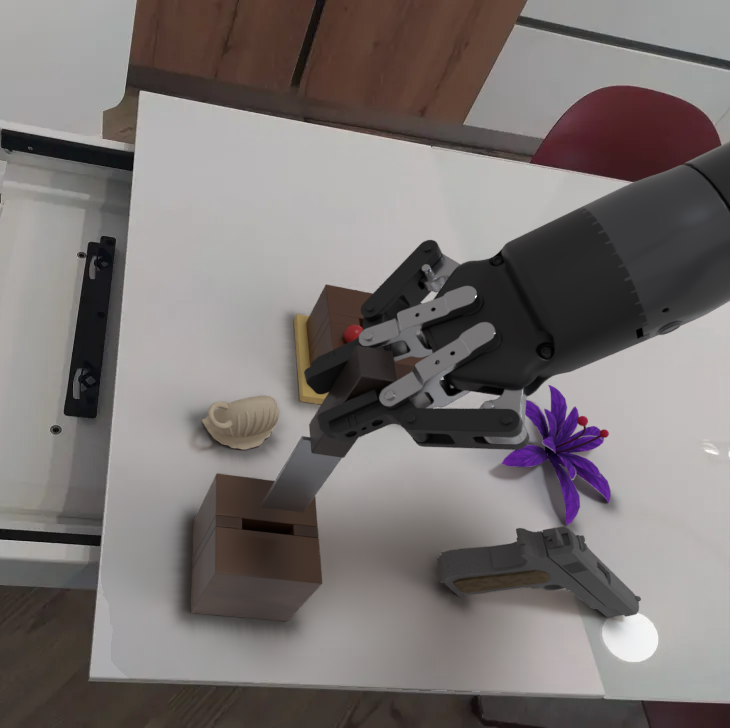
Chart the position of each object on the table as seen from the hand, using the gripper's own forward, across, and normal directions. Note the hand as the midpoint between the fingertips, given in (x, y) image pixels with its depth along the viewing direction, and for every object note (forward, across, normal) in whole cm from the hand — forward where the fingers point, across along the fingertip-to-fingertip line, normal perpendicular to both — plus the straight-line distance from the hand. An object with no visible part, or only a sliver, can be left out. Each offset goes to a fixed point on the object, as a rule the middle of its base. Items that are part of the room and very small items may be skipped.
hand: (318, 405), depth 43 cm
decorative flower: (-10, -10, +44) cm, 46 cm away
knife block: (+15, 0, +18) cm, 24 cm away
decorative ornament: (+14, -14, +20) cm, 28 cm away
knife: (+8, 0, +11) cm, 13 cm away
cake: (+3, -21, +30) cm, 37 cm away
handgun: (-3, +4, +37) cm, 37 cm away
